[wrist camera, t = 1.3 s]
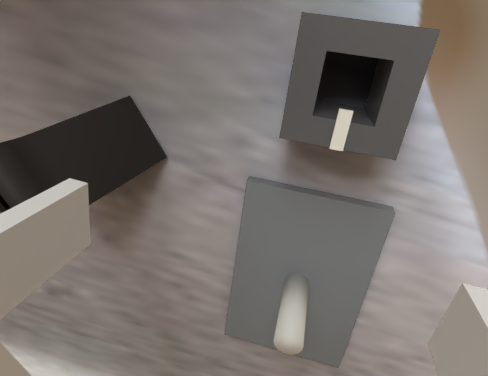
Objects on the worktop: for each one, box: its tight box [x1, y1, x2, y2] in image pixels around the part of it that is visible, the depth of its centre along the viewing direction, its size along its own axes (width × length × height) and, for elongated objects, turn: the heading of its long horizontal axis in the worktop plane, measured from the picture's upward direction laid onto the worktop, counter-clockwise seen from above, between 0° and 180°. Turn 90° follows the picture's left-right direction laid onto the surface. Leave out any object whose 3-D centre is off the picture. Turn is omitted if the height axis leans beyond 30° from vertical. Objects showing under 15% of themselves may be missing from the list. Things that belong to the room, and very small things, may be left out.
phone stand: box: [0, 96, 167, 213], centre depth 26 cm, size 9×6×12 cm, turn 118°
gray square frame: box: [279, 12, 440, 160], centre depth 21 cm, size 7×7×6 cm
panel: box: [225, 177, 395, 368], centre depth 28 cm, size 18×12×8 cm, turn 172°
